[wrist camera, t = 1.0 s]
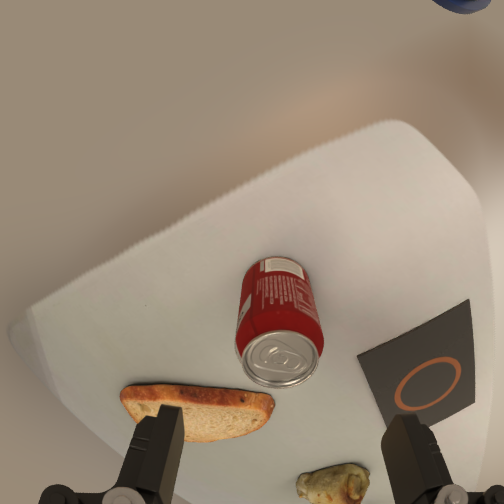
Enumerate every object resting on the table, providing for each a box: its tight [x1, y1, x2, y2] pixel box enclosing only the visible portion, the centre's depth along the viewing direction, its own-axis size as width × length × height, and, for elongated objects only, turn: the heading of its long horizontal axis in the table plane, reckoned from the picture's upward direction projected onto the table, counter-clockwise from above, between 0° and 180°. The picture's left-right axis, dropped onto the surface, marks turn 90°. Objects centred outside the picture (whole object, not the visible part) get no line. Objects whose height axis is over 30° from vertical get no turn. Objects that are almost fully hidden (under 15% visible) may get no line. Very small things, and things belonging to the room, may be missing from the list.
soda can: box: [235, 257, 324, 389], centre depth 28 cm, size 7×7×12 cm
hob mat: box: [357, 299, 475, 428], centre depth 39 cm, size 24×16×1 cm, turn 28°
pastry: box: [296, 464, 370, 504], centre depth 45 cm, size 14×12×8 cm
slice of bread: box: [120, 384, 275, 442], centre depth 39 cm, size 18×18×4 cm
